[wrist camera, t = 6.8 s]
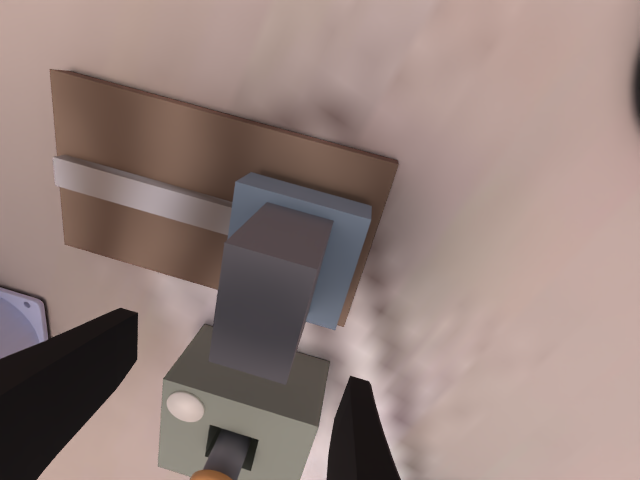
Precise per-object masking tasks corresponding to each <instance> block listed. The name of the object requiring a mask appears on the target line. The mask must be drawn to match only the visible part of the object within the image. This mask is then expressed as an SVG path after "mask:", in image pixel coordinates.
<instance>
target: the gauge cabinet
mask: <svg viewBox="0 0 640 480" xmlns="http://www.w3.org/2000/svg"><path fill="white" fill-rule="evenodd" d="M212 331H213V326H209V325H206V324H204V326H203V327H202V328H201V329H200V331H199V332H198V333H197V335H196V336H195V337H194V339H193V340H192V341H191V343H190V344H189V345H188V347H187V348H186V349H185V351H184V352H183V353H182V355H181V356H180V357H179V359H178V360H177V361H176V363H175V364H174V365H173V367H172V368H171V369H170V371H169V372H168V373H167V374H166V376H165V377H164V378H163V389H162V405H161V422H160V438H159V454H158V467H161V468H164V469H168V470H171V471H174V472H177V473H180V474H183V475H186V476H189V477H191V476H192V475H193V474H194V473H195V472H197V471H199V470H203V468H204V466H205V464H206V461H207V459H208V457H209V455H210V453H211V451H212V448H213V446H214V444H215V442H216V440H217V438H218V436H219V433H220V431H221V429H225V430H229V431H232V432H235V433H238V434H241V435H245V436H248V437H251V438H252V440H251V443H250V446H249V449H248V452H247V454H246V457H245V460H244V463H243V465H242V468H241V471H240V474H239V476H238V479H237V480H300V478H301V475H302V472H303V470H304V467H305V464H306V461H307V458H308V455H309V453H310V450H311V447H312V444H313V441H314V438H315V436H316V433H317V430H318V427H319V421H320V416H321V410H322V404H323V398H324V392H325V387H326V381H327V375H328V369H329V363H330V362H329V361H326V360H322V359H319V358H316V357H312V356H309V355H306V354H302V353H299V352H296V354H295V358H294V361H293V364H292V367H291V370H290V374H289V377H288V380H287V383H286V385H284V384H281V383H278V382H275V381H271V380H268V379H265V378H261V377H258V376H255V375H252V374H248V373H245V372H242V371H239V370H235V369H232V368H229V367H226V366H222V365H219V364H216V363H212V362H209V354H210V346H211V339H212Z"/></svg>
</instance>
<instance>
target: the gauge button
mask: <svg viewBox="0 0 640 480" xmlns="http://www.w3.org/2000/svg"><path fill="white" fill-rule="evenodd" d="M251 440H252V438H251V437H248V436H245V435H241V434H238V433H235V432H232V431H229V430H225V429H221V431H220V433H219V436H218V438H217V440H216V442H215V444H214V446H213V448H212V451H211V453H210V455H209V457H208V459H207V461H206V464H205V466H204V468H203V470H199V471H197V472H195V473H194V474H193V475H192V476H191V478H190V480H237V479H238V476H239V474H240V471H241V468H242V465H243V463H244V460H245V457H246V454H247V452H248V449H249V446H250V443H251Z"/></svg>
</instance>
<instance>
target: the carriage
mask: <svg viewBox="0 0 640 480" xmlns="http://www.w3.org/2000/svg"><path fill="white" fill-rule="evenodd" d="M371 214H372V206H370V205H367V204H363V203H360V202H356V201H353V200H349V199H345V198H342V197H338V196H335V195H331V194H327V193H324V192H320V191H317V190H313V189H310V188H306V187H302V186H299V185H295V184H292V183H288V182H284V181H281V180H277V179H274V178H270V177H267V176H263V175H259V174H256V173H252V172H251V173H249V174H247V175H246V176H244V177H242V178H241V179H239V180H237V181H235V188H234V195H233V203H232V210H231V217H230V224H229V232H228V239H227V241H226V242H225V243H224V250H223V257H222V264H221V272H220V279H219V287H218V294H217V302H216V309H215V316H214V324H213V331H212V339H211V346H210V354H209V362H212V363H216V364H219V365H222V366H226V367H229V368H232V369H235V370H239V371H242V372H245V373H248V374H252V375H255V376H258V377H261V378H265V379H268V380H271V381H275V382H278V383H281V384H284V385H286V383H287V380H288V377H289V374H290V370H291V367H292V364H293V361H294V358H295V354H296V351H297V348H298V345H299V342H300V338H301V335H302V332H303V329H304V325H305V322H309V323H312V324H316V325H319V326H323V327H326V328H329V329H333V330H335V329H336V326H337V323H338V320H339V317H340V314H341V311H342V308H343V305H344V302H345V299H346V296H347V293H348V290H349V287H350V283H351V280H352V277H353V274H354V271H355V268H356V265H357V262H358V259H359V256H360V253H361V250H362V247H363V244H364V241H365V238H366V234H367V231H368V228H369V225H370V222H371Z"/></svg>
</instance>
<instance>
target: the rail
mask: <svg viewBox="0 0 640 480" xmlns="http://www.w3.org/2000/svg"><path fill="white" fill-rule="evenodd" d="M50 79H51V90H52V102H53V114H54V125H55V137H56V149H57V156H55V157H53V167H54V178H55V186H58V187H60V195H61V207H62V219H63V230H64V242H65V245H68V246H72V247H75V248H78V249H82V250H85V251H89V252H92V253H95V254H99V255H102V256H105V257H109V258H112V259H116V260H119V261H122V262H126V263H129V264H133V265H136V266H139V267H143V268H146V269H149V270H153V271H156V272H160V273H163V274H166V275H170V276H173V277H176V278H180V279H183V280H187V281H190V282H193V283H197V284H200V285H204V286H207V287H210V288H214V289H217V290H218V287H219V279H220V272H221V264H222V257H223V250H224V243H225V242H226V241H227V239H228V232H229V224H230V217H231V210H232V203H233V195H234V188H235V181H237V180H239V179H241V178H242V177H244V176H246V175H247V174H249V173H251V172H252V173H256V174H259V175H263V176H267V177H270V178H274V179H277V180H281V181H284V182H288V183H292V184H295V185H299V186H302V187H306V188H310V189H313V190H317V191H320V192H324V193H327V194H331V195H335V196H338V197H342V198H345V199H349V200H353V201H356V202H360V203H363V204H367V205H370V206H372V214H371V222H370V225H369V228H368V231H367V234H366V238H365V241H364V244H363V247H362V250H361V253H360V256H359V259H358V262H357V265H356V268H355V271H354V274H353V277H352V280H351V283H350V287H349V290H348V293H347V296H346V299H345V302H344V305H343V308H342V311H341V314H340V317H339V320H338V323H337V325H339V326H342V327H344V325H345V322H346V319H347V316H348V313H349V310H350V307H351V304H352V301H353V298H354V295H355V292H356V289H357V286H358V283H359V280H360V277H361V274H362V272H363V269H364V266H365V263H366V260H367V257H368V254H369V251H370V248H371V245H372V242H373V239H374V236H375V233H376V230H377V227H378V224H379V221H380V218H381V215H382V212H383V209H384V206H385V204H386V201H387V198H388V195H389V192H390V189H391V186H392V183H393V180H394V177H395V174H396V171H397V168H398V165H399V164H398V161H397V160H394V159H390V158H387V157H383V156H379V155H376V154H372V153H368V152H365V151H361V150H357V149H354V148H350V147H346V146H343V145H339V144H335V143H332V142H328V141H324V140H321V139H317V138H313V137H310V136H306V135H302V134H299V133H295V132H291V131H288V130H284V129H280V128H277V127H273V126H269V125H266V124H262V123H258V122H255V121H251V120H247V119H244V118H240V117H236V116H233V115H229V114H225V113H222V112H218V111H214V110H211V109H207V108H203V107H200V106H196V105H192V104H189V103H185V102H181V101H178V100H174V99H170V98H167V97H163V96H159V95H156V94H152V93H148V92H145V91H141V90H137V89H134V88H130V87H126V86H123V85H119V84H115V83H112V82H108V81H104V80H101V79H97V78H93V77H89V76H86V75H82V74H78V73H75V72H71V71H63V70H52V69H50Z"/></svg>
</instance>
